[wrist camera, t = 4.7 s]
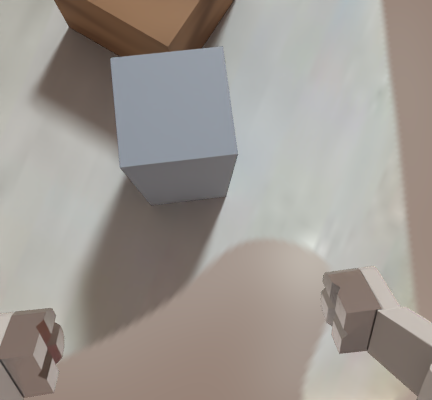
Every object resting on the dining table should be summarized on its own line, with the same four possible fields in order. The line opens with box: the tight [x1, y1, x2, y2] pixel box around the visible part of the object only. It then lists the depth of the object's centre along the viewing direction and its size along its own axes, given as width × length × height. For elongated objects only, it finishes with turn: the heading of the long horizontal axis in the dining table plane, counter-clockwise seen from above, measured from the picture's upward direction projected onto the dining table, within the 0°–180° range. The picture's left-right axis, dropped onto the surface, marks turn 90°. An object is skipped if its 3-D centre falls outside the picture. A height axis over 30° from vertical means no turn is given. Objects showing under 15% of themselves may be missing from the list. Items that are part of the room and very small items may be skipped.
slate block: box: [110, 46, 238, 205], centre depth 20 cm, size 4×4×9 cm
